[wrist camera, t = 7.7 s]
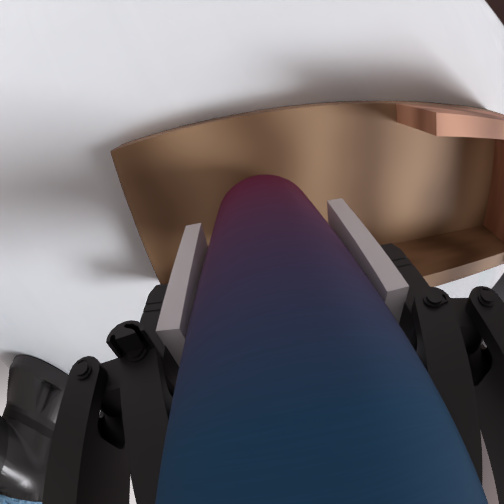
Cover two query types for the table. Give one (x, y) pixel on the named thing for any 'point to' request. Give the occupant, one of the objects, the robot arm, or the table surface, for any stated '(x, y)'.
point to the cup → (301, 375)
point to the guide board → (335, 176)
